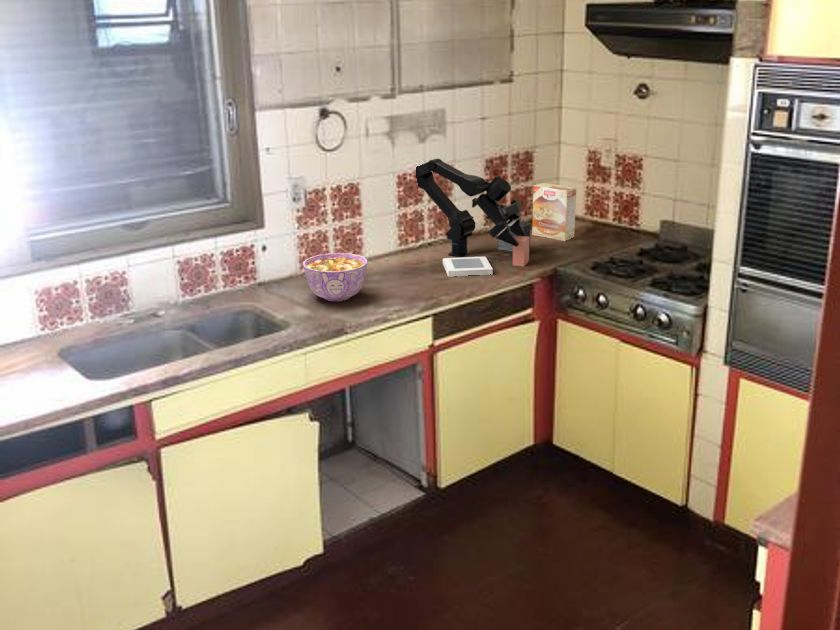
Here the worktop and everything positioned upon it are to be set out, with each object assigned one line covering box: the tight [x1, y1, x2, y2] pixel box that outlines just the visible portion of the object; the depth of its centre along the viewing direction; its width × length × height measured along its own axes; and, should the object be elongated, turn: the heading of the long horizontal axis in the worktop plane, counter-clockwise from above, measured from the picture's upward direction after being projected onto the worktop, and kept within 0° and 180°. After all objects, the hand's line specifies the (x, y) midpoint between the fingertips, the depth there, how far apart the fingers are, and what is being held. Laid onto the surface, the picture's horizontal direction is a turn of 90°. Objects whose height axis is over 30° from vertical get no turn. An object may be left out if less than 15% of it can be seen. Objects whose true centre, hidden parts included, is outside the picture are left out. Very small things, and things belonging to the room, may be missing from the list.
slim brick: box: [512, 236, 530, 267], centre depth 320 cm, size 6×4×9 cm, turn 157°
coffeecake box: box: [531, 182, 577, 242], centre depth 350 cm, size 15×7×20 cm, turn 50°
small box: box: [496, 221, 532, 254], centre depth 334 cm, size 11×6×10 cm, turn 58°
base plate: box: [442, 256, 494, 278], centre depth 315 cm, size 15×15×2 cm
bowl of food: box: [302, 252, 368, 302], centre depth 288 cm, size 20×20×12 cm
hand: (521, 242), depth 318 cm, fingers open, 9 cm apart
